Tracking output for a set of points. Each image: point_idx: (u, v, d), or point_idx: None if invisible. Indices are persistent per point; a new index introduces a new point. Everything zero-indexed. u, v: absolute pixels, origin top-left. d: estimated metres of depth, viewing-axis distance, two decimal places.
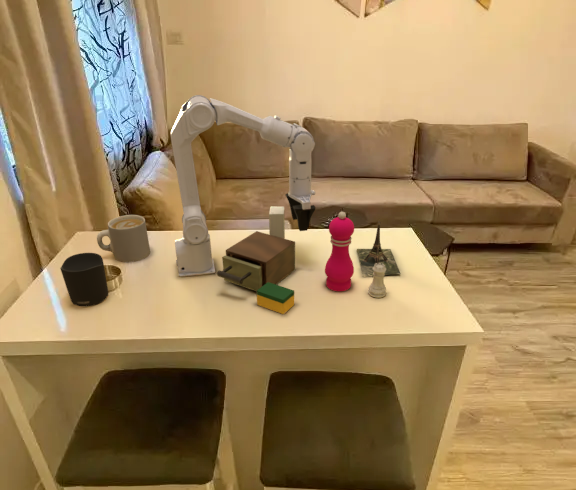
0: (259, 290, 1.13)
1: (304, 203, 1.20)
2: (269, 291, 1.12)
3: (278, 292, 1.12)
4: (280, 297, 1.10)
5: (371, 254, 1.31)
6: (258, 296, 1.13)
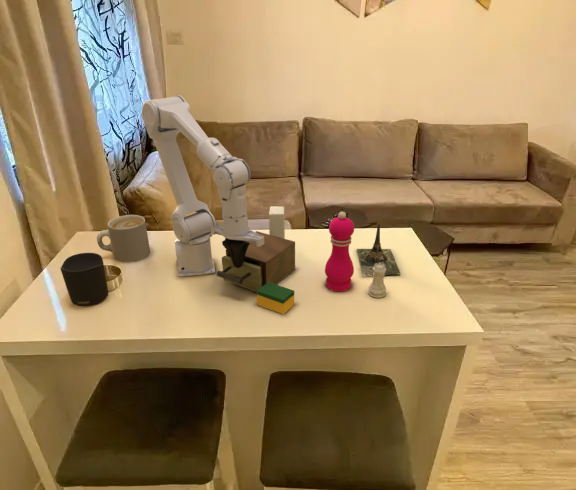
0: (259, 290, 1.13)
1: (260, 240, 1.09)
2: (269, 291, 1.12)
3: (278, 292, 1.12)
4: (280, 297, 1.10)
5: (371, 254, 1.31)
6: (258, 296, 1.13)
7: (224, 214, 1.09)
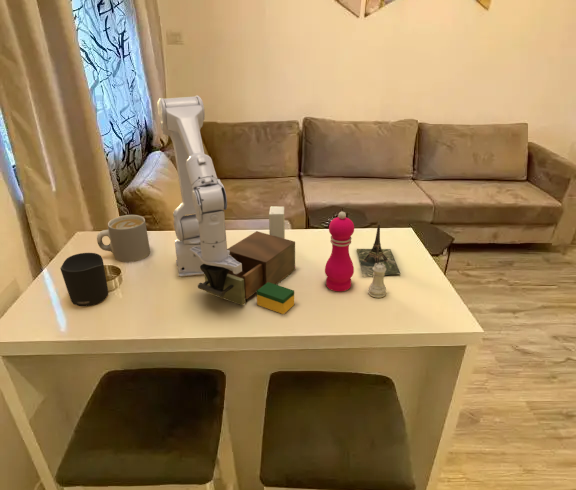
0: (259, 290, 1.13)
1: (236, 267, 1.04)
2: (269, 291, 1.12)
3: (278, 292, 1.12)
4: (280, 297, 1.10)
5: (371, 254, 1.31)
6: (258, 296, 1.13)
7: (200, 237, 1.05)
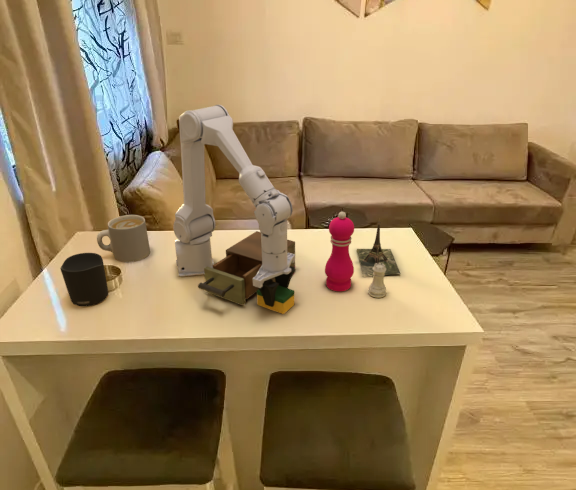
0: (259, 290, 1.13)
1: (253, 279, 1.05)
2: None
3: (278, 292, 1.12)
4: (280, 297, 1.10)
5: (371, 254, 1.31)
6: (258, 296, 1.13)
7: (264, 250, 1.05)
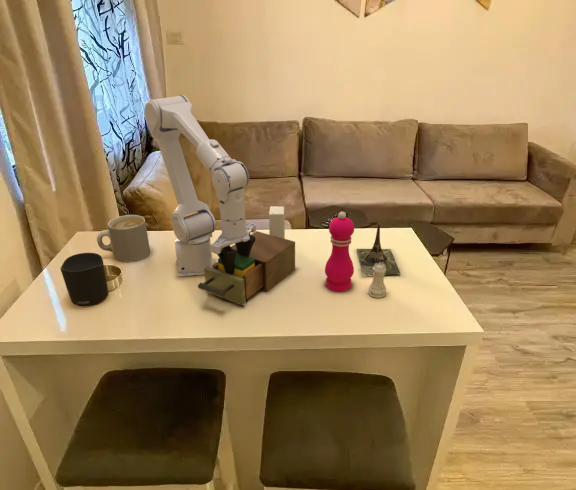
0: None
1: (211, 246, 1.07)
2: None
3: (238, 260, 1.15)
4: (240, 265, 1.13)
5: (371, 254, 1.31)
6: (219, 264, 1.16)
7: (222, 217, 1.08)
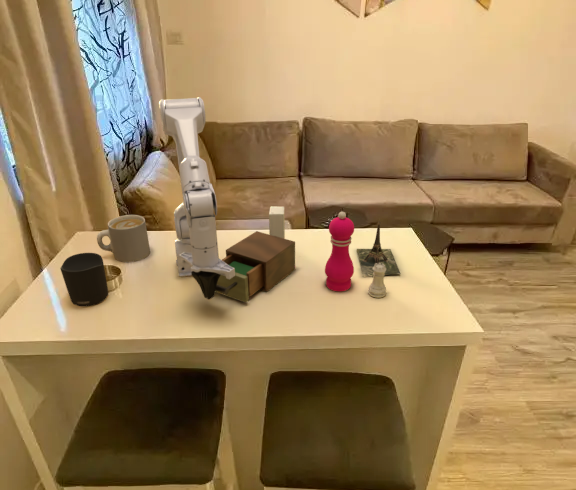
0: None
1: None
2: None
3: (243, 270, 1.17)
4: (244, 274, 1.16)
5: (371, 254, 1.31)
6: None
7: (190, 241, 1.03)
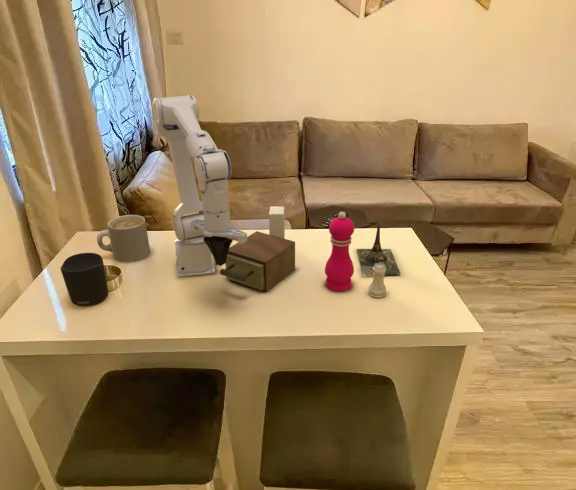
0: None
1: None
2: None
3: None
4: (260, 263, 1.20)
5: (371, 254, 1.31)
6: None
7: (203, 207, 1.03)
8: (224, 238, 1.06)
